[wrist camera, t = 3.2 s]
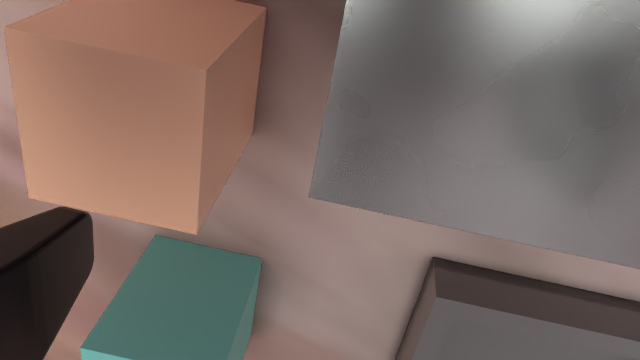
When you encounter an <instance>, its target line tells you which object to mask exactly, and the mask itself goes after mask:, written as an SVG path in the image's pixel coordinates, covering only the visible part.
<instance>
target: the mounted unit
mask: <svg viewBox="0 0 640 360" xmlns="http://www.w3.org/2000/svg"><path fill="white" fill-rule="evenodd" d="M309 197H310V198H314V199H319V200H324V201H328V202H333V203H338V204H342V205H347V206H351V207H356V208H361V209H365V210H370V211H374V212H379V213H384V214H388V215H393V216H397V217H402V218H407V219H411V220H416V221H420V222H425V223H430V224H434V225H439V226H443V227H448V228H453V229H457V230H462V231H467V232H471V233H476V234H480V235H485V236H490V237H494V238H499V239H503V240H508V241H513V242H517V243H522V244H526V245H531V246H536V247H540V248H545V249H549V250H554V251H559V252H563V253H568V254H572V255H577V256H582V257H586V258H591V259H595V260H600V261H605V262H609V263H614V264H619V265H623V266H628V267H632V268H637V269H640V0H346V5H345V10H344V16H343V21H342V26H341V31H340V36H339V42H338V47H337V52H336V57H335V62H334V68H333V73H332V78H331V83H330V89H329V94H328V99H327V104H326V109H325V115H324V120H323V125H322V130H321V135H320V141H319V146H318V151H317V156H316V162H315V167H314V172H313V177H312V182H311V188H310V193H309Z"/></svg>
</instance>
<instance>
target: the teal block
mask: <svg viewBox="0 0 640 360" xmlns="http://www.w3.org/2000/svg"><path fill="white" fill-rule="evenodd" d="M261 265H262V258H258V257H253V256H249V255H244V254H239V253H235V252H230V251H226V250H221V249H217V248H212V247H208V246H203V245H199V244H194V243H190V242H185V241H181V240H176V239H172V238H167V237H162V236H158V235H155V237H154V238H153V240H152V241H151V243H150V244H149V246H148V247H147V249H146V250H145V252H144V253H143V255H142V256H141V258H140V259H139V261H138V262H137V264H136V265H135V267H134V268H133V270H132V271H131V273H130V274H129V276H128V277H127V279H126V280H125V282H124V283H123V285H122V286H121V288H120V289H119V291H118V292H117V294H116V295H115V297H114V298H113V300H112V301H111V303H110V304H109V306H108V307H107V309H106V310H105V312H104V313H103V315H102V316H101V318H100V319H99V321H98V322H97V324H96V325H95V327H94V328H93V330H92V331H91V333H90V334H89V336H88V337H87V339H86V340H85V342H84V343H83V345H82V346H81V348H80V350H81V359H82V360H243V358H244V355H245V352H246V349H247V346H248V343H249V339H250V336H251V332H252V326H253V319H254V312H255V305H256V299H257V292H258V285H259V278H260V272H261Z"/></svg>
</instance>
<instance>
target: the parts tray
mask: <svg viewBox="0 0 640 360" xmlns="http://www.w3.org/2000/svg"><path fill="white" fill-rule="evenodd" d="M395 360H640V303H639V302H635V301H630V300H625V299H621V298H616V297H612V296H607V295H602V294H598V293H593V292H589V291H584V290H580V289H575V288H570V287H566V286H561V285H557V284H552V283H548V282H543V281H538V280H534V279H529V278H525V277H520V276H516V275H511V274H506V273H502V272H497V271H493V270H488V269H484V268H479V267H474V266H470V265H465V264H461V263H456V262H452V261H447V260H442V259H438V258H433V259H432V261H431V264H430V267H429V270H428V272H427V275H426V278H425V280H424V283H423V286H422V289H421V291H420V294H419V297H418V299H417V302H416V305H415V308H414V310H413V313H412V316H411V318H410V321H409V324H408V326H407V329H406V332H405V335H404V337H403V340H402V343H401V345H400V348H399V351H398V354H397V356H396V359H395Z"/></svg>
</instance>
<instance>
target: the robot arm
mask: <svg viewBox="0 0 640 360" xmlns="http://www.w3.org/2000/svg"><path fill="white" fill-rule="evenodd" d="M93 261H94V244H93V222H92V218H91V215H90V214H89V213H87V212H85V211H81V210H77V209H73V208H68V207H57V208H54V209H51V210H49V211H46V212H43V213H40V214H37V215H35V216H32V217H29V218H26V219H24V220H21V221H18V222H15V223H12V224H10V225H7V226H4V227H1V228H0V360H43V359H44V357H45V355H46V354H47V352H48V350H49V348H50V346H51V345H52V343H53V341H54V339H55V337H56V335H57V333H58V332H59V330H60V328H61V326H62V324H63V322H64V320H65V319H66V317H67V315H68V313H69V311H70V309H71V308H72V306H73V304H74V302H75V300H76V298H77V296H78V295H79V293H80V291H81V289H82V287H83V285H84V283H85V282H86V280H87V278H88V276H89V274H90V272H91V269H92V266H93Z"/></svg>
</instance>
